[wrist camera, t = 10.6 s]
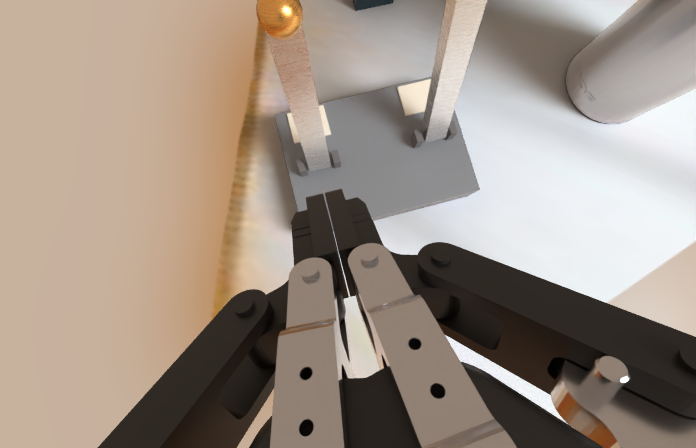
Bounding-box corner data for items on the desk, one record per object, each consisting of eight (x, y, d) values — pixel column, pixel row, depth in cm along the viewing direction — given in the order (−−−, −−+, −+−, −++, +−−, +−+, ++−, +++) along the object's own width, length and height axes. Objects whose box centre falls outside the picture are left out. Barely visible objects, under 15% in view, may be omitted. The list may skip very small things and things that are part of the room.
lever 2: (440, 123, 29) (493, -77, 16) (450, 141, 28) (515, -56, 15) (416, 129, 29) (450, -67, 16) (425, 148, 28) (469, -46, 15)
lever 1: (329, 150, 29) (293, -30, 16) (334, 171, 28) (301, -4, 15) (304, 156, 29) (247, -20, 16) (309, 177, 28) (252, 7, 15)
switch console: (434, 90, 33) (448, 64, 29) (467, 196, 32) (487, 185, 27) (280, 128, 32) (270, 107, 28) (307, 237, 31) (301, 233, 27)
